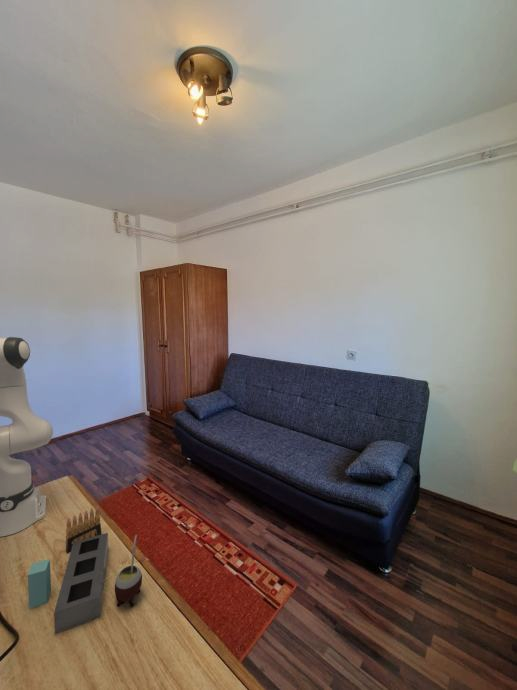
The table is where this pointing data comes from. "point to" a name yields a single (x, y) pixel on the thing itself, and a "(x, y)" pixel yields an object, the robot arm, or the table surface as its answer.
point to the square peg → (39, 583)
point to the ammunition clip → (82, 528)
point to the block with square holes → (82, 583)
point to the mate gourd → (128, 582)
